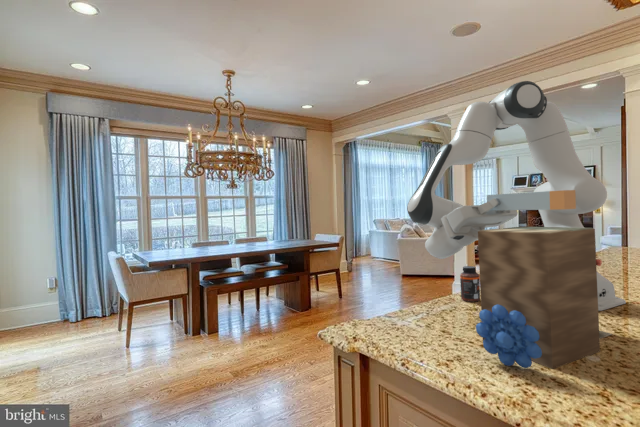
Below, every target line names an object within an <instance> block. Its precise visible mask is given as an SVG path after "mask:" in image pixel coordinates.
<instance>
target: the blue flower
mask: <svg viewBox="0 0 640 427" xmlns="http://www.w3.org/2000/svg"><path fill="white" fill-rule="evenodd" d="M478 315H479V320H480V321H481V322H478V323H476V325H475V330H476V333H477V334H478V336H480V337H481V338H482V339H483V338H486V339H484V341H483V340H482V344H483V346H482V347H483V348H484V350H485V351H486V352H487V353H489V354H490V355H496V354H497V358H498V359H499V361H500V362H501V363H502V364H503V365H505V366H507V367H510V366H513V365H515V363H516V364H517V365H518V366H519V367H521V368H524V369H527V368H531V367H532V364H533V361H531V358H534V359H536V358H540V357H541V355H542V351H541V348H540V347H539V346H538V345H537V344H536V343H534V342H536V341H538V340H539V338H540V337H539V332H538V331H537V330H536V329H535V328H534V327H533V326H530V325H525V324H526V318H525V316H524V315H523V314H522V313H521V312H519V311H516V310H514V311H511V312H510V313H509V314H508V311H507V309H506V308H505V307H504V306H501V305H498V304H497V305H494V306H493V307H492V312H491V311H489V310H486V309H484V310H480V311H479V312H478ZM482 322H483V323H482ZM530 357H531V358H530Z"/></svg>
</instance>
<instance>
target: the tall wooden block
mask: <svg viewBox="0 0 640 427" xmlns="http://www.w3.org/2000/svg"><path fill="white" fill-rule="evenodd" d="M477 241H478V242H477V244H478V245H477V246H478V267H479V268H478V269H479V285H480V309H481V310H484V309H486V310H489V311H491V312H492V307H493V306H494V305H497V304H498V305H501V306H504V307H505V308H506V309H507V311H508V314H509V313H510V312H511V311H514V310H516V311H519V312H521V313H522V314H523V315H524V316H525V318H526V324H525V325H530V326H533V327H534V328H535V329H536V330H537V331H538V332H539V337H540V338H539V340H538V341H536V342H534V343H536V344H537V345H538V346H539V347H540V348H541V351H542V355H541V357H540V358H536V359H534V358H531V357H530V358H531V361H532V363H536V364H539V365H540V366H541V365H542V366H544V367H547V368H549V369H556V368H558V367H562V366H564V365H567V364H569V363H573V362H575V361H577V360H578V361H579V360H580V359H583V358H587V357H589V356H591V355H594V354H597V353H599V352H601V348H600V347H601V344H600V343H601V342H600V341H601V340H600V339H601V338H600V339H599V331H600V324H599V323H600V317H599V316H600V315H599V311H598V293H597V272H598V271H597V270H598V269H597V265H596V259H597V253H596V250H597V249H596V229H595V228H593V227H584V228H568V227H544V226H514V227H504V228H493V229H492V228H491V229H485V230H480V231H478V240H477ZM481 310H480V311H481ZM481 322H482V321H481ZM482 323H483V322H482ZM484 339H486V338H483V337H482V342H483V341H484Z"/></svg>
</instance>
